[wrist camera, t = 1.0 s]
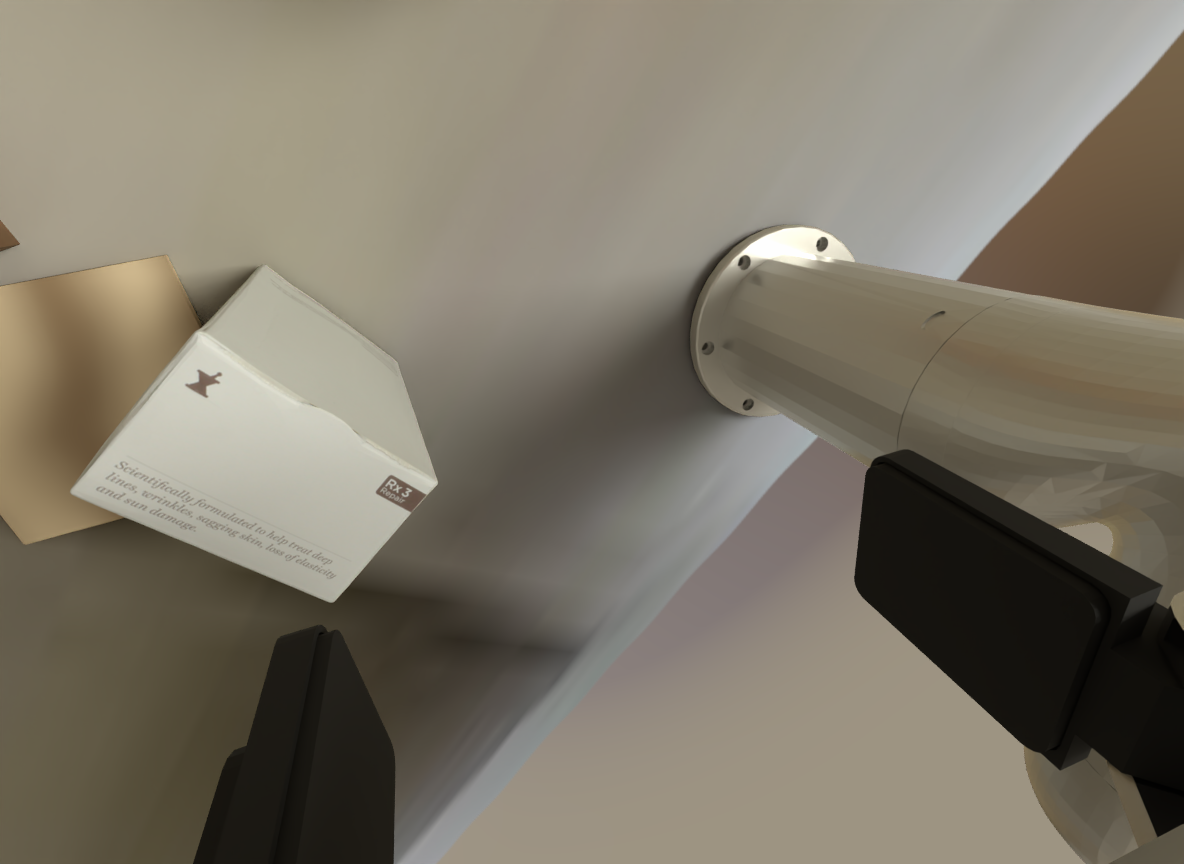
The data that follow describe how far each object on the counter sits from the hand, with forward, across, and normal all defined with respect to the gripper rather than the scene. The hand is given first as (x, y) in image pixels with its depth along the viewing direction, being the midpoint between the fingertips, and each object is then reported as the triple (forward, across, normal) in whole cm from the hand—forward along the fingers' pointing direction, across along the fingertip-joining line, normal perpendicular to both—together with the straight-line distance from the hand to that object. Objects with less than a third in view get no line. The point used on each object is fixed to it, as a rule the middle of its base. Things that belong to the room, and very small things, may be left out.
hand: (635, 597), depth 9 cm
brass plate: (+24, +19, +1) cm, 31 cm away
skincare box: (+24, +9, +1) cm, 26 cm away
